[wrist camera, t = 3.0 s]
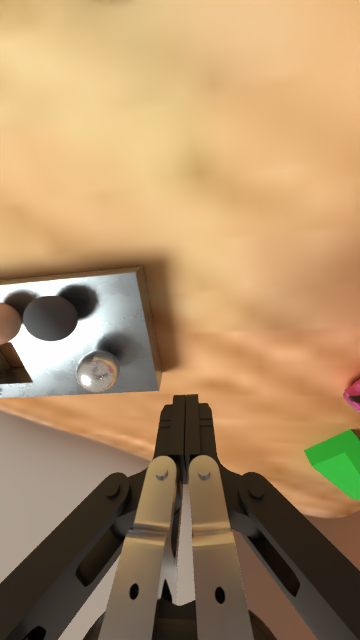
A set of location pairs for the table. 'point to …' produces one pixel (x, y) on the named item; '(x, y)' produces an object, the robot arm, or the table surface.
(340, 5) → the table surface
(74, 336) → the grey ball holder tray
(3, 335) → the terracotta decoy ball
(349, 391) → the pencil case
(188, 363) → the table surface
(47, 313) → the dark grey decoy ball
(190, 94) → the table surface
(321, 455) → the mechanical part
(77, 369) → the steel ball
